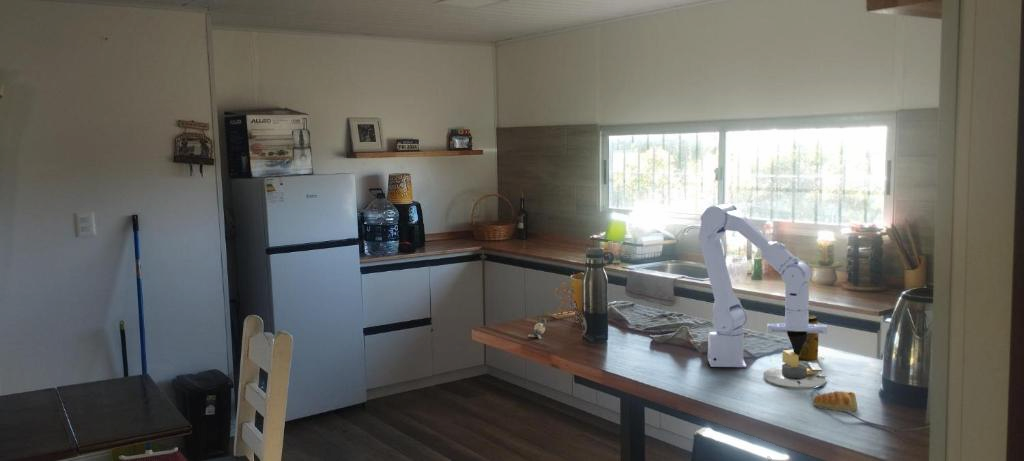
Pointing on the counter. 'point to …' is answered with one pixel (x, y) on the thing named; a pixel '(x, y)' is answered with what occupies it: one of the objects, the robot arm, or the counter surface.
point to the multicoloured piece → (794, 366)
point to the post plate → (807, 382)
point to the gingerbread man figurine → (561, 315)
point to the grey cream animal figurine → (539, 328)
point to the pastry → (837, 401)
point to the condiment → (810, 345)
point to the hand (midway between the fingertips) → (796, 359)
